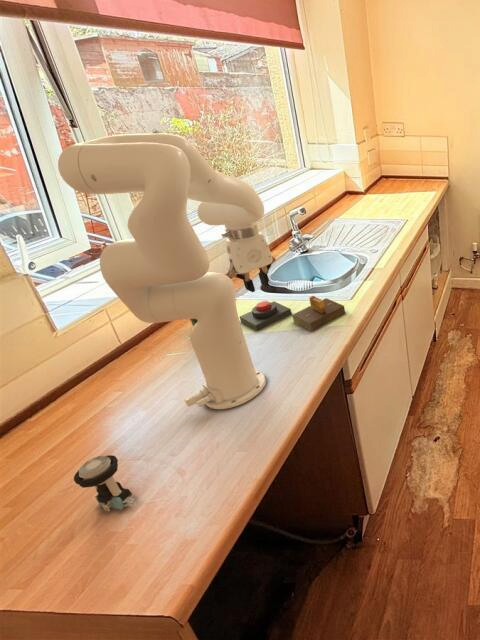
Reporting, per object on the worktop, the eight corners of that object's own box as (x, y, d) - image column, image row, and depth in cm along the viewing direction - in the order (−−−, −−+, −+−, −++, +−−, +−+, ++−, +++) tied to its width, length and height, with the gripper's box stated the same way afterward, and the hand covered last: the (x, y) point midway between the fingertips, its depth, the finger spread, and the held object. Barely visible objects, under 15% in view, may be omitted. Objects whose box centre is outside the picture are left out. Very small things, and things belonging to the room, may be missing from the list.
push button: (150, 492, 73) (129, 454, 69) (120, 521, 69) (96, 482, 65) (119, 487, 74) (97, 449, 70) (87, 515, 69) (61, 476, 65)
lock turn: (325, 311, 125) (323, 299, 123) (321, 313, 124) (319, 301, 122) (315, 306, 127) (313, 295, 126) (311, 308, 126) (309, 297, 125)
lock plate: (312, 331, 120) (310, 323, 119) (294, 322, 124) (291, 314, 123) (345, 313, 130) (343, 305, 128) (327, 305, 134) (326, 297, 132)
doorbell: (257, 331, 120) (254, 320, 118) (241, 322, 124) (237, 311, 122) (291, 314, 129) (289, 303, 127) (275, 306, 133) (272, 296, 131)
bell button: (261, 313, 123) (260, 308, 122) (255, 309, 124) (253, 304, 124) (273, 307, 125) (271, 303, 125) (266, 304, 127) (265, 299, 126)
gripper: (218, 243, 106) (236, 303, 114) (278, 226, 119) (291, 280, 127) (203, 238, 109) (222, 296, 117) (264, 221, 123) (277, 274, 130)
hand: (258, 287), depth 122 cm, fingers open, 3 cm apart
